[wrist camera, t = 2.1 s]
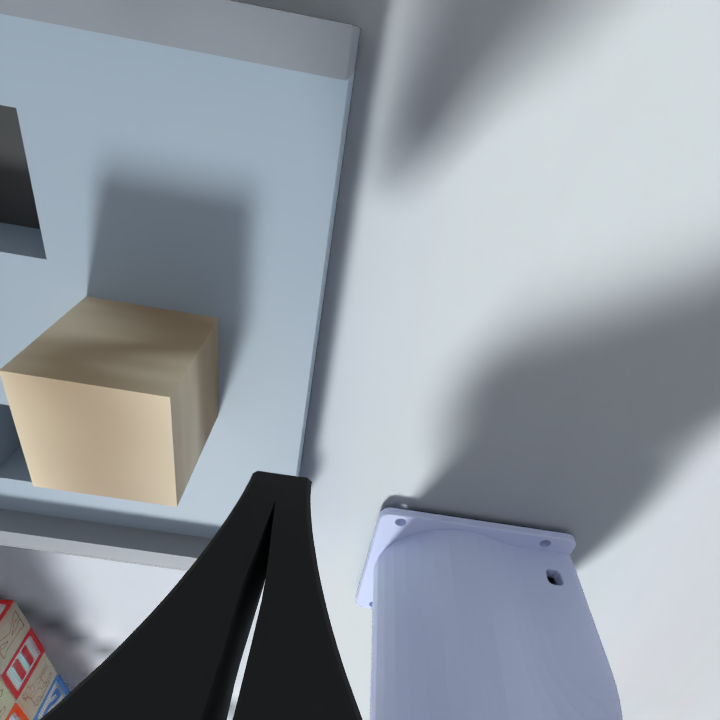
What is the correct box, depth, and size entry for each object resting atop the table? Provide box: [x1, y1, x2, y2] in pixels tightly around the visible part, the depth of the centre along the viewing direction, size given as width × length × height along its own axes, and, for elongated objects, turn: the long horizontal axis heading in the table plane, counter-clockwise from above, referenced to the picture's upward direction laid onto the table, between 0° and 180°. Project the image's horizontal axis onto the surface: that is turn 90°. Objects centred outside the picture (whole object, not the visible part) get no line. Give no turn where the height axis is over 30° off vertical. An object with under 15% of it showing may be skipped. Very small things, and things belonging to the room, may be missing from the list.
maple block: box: [0, 296, 218, 507], centre depth 14 cm, size 4×4×4 cm
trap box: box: [0, 0, 361, 571], centre depth 16 cm, size 19×20×5 cm
